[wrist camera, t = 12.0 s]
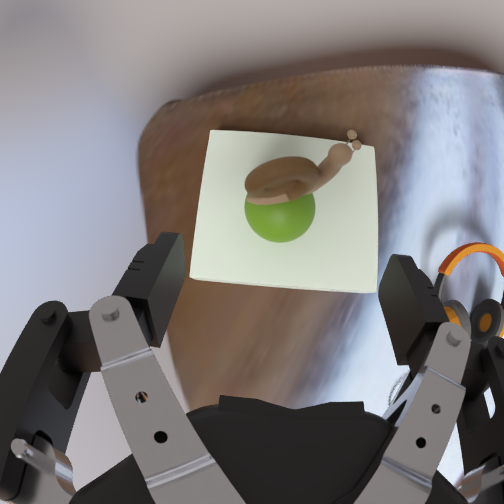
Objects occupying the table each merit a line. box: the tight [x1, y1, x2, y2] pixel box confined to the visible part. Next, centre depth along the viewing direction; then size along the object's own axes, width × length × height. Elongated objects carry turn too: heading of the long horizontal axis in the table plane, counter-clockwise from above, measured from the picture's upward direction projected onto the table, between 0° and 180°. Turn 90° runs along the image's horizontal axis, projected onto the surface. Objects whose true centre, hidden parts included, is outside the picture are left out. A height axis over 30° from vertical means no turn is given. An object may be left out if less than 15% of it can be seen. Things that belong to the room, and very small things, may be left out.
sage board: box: [190, 130, 378, 293], centre depth 27 cm, size 16×14×3 cm
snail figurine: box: [244, 129, 361, 243], centre depth 20 cm, size 5×6×12 cm
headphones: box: [391, 242, 504, 402], centre depth 24 cm, size 16×5×20 cm
